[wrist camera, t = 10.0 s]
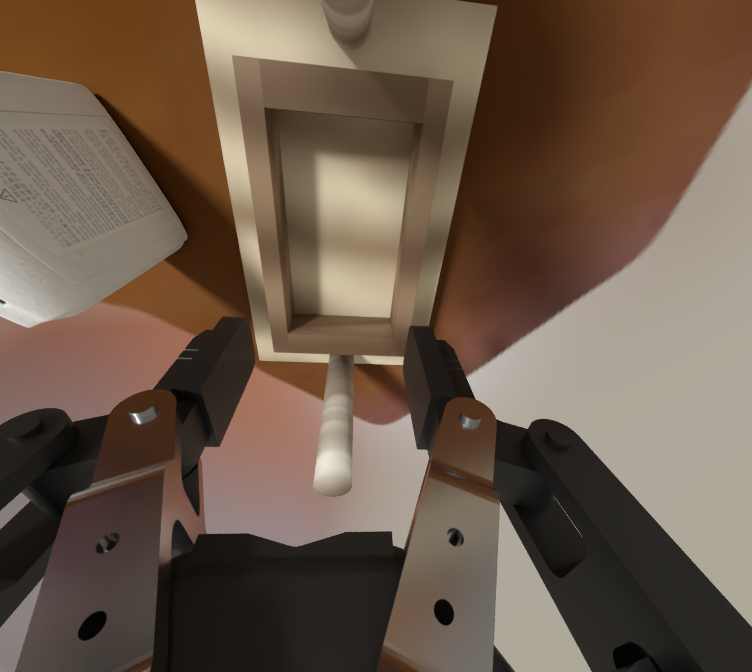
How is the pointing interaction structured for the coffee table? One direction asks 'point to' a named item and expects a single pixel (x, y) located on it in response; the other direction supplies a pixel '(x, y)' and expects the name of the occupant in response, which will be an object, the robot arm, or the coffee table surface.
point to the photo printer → (71, 203)
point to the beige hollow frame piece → (343, 174)
